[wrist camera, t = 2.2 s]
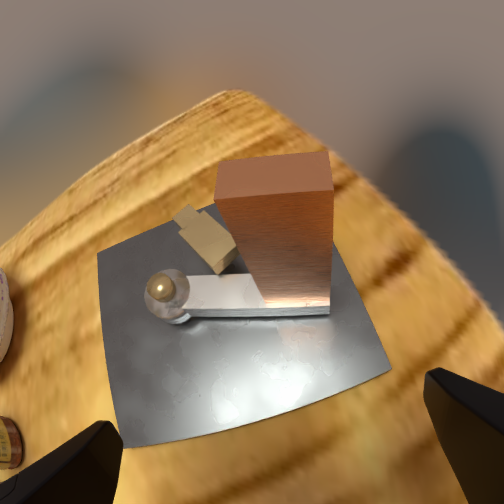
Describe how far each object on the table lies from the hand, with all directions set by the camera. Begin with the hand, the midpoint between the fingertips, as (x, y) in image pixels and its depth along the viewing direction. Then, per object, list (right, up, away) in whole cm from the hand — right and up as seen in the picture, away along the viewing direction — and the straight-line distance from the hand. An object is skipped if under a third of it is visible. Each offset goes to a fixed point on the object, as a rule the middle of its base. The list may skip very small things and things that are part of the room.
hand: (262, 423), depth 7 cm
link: (-1, +1, +15) cm, 15 cm away
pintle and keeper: (-3, +2, +18) cm, 18 cm away
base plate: (-3, 0, +17) cm, 17 cm away
